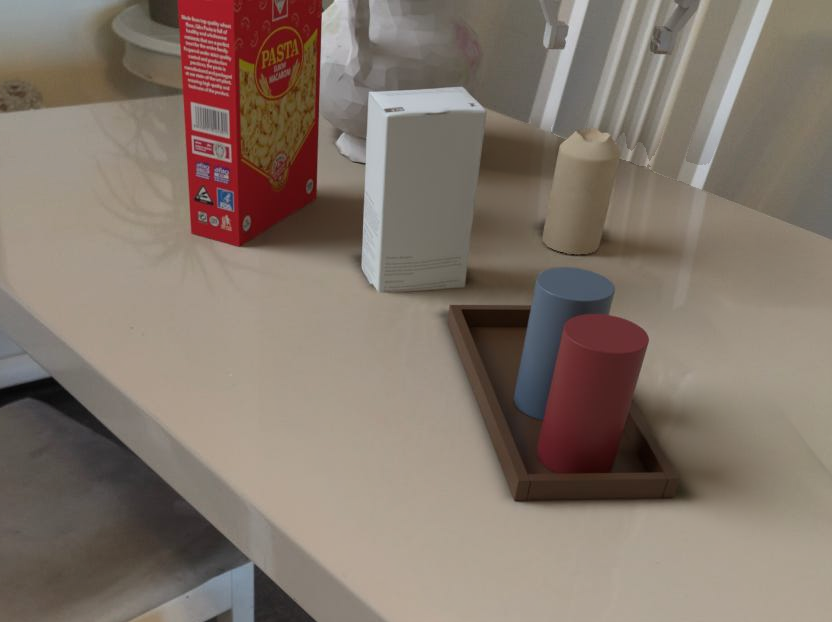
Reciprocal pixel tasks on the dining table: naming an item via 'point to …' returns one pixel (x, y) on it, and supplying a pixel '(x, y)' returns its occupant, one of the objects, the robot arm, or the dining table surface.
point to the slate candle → (555, 328)
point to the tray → (519, 433)
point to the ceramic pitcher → (390, 58)
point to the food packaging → (249, 112)
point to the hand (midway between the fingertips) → (607, 50)
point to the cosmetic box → (420, 187)
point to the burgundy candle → (591, 393)
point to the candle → (581, 192)
